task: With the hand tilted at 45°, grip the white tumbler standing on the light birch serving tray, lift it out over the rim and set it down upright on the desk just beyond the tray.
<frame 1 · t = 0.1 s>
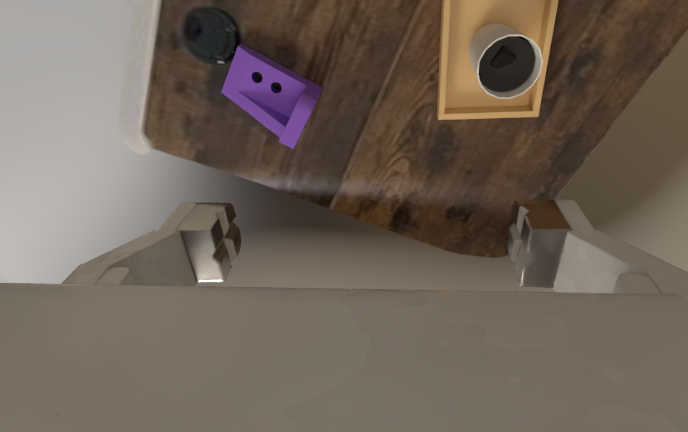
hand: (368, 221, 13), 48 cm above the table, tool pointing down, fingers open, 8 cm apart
tray: (491, 47, 54), on the table
bracket: (273, 88, 60), on the table
white tumbler: (491, 47, 54), resting on tray
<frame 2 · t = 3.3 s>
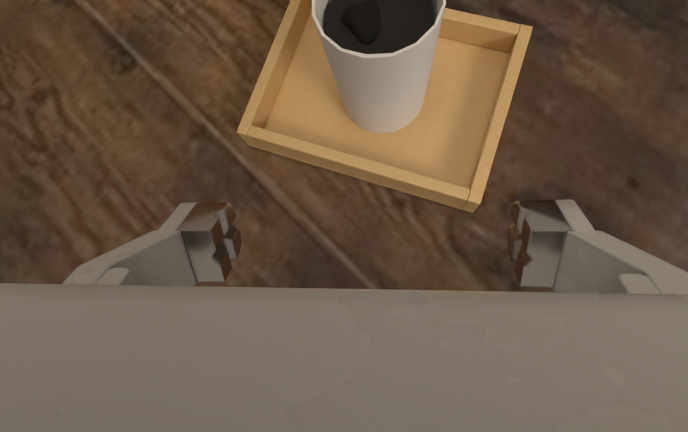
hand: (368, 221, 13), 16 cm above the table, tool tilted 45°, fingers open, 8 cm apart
tray: (383, 97, 31), on the table
white tumbler: (383, 97, 31), resting on tray
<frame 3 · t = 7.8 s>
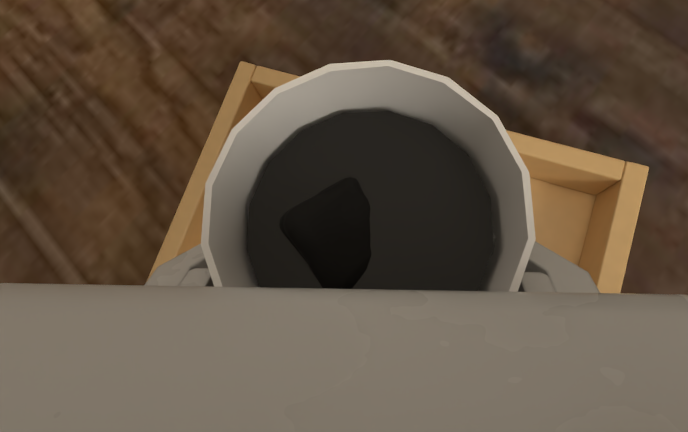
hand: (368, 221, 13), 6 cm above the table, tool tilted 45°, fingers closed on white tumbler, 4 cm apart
tray: (379, 265, 19), on the table
white tumbler: (381, 266, 19), resting on tray, touching gripper
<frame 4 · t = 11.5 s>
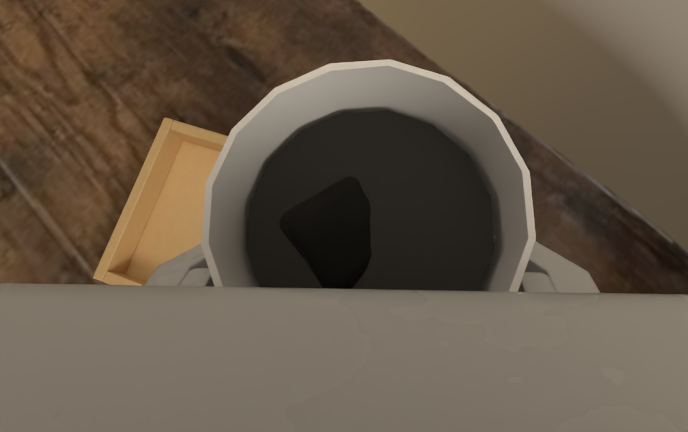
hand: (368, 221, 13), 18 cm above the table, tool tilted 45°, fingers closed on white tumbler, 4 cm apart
tray: (244, 235, 32), on the table
white tumbler: (381, 266, 19), point 12 cm above the table, touching gripper
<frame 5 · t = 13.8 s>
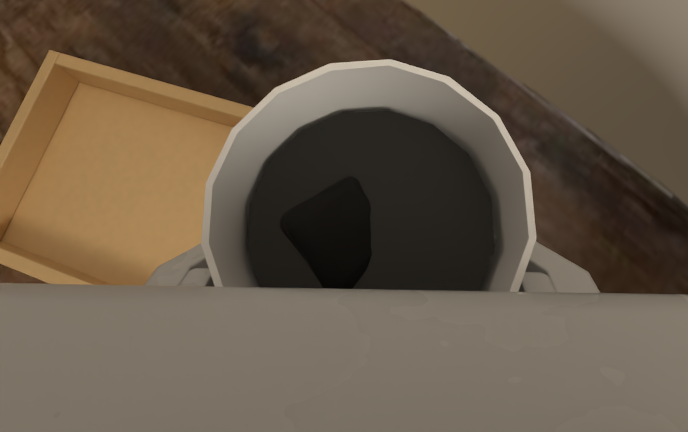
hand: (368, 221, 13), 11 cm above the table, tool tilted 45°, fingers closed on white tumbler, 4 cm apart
tray: (145, 194, 26), on the table
white tumbler: (381, 266, 19), point 5 cm above the table, touching gripper
when the fingers open (6 cm above the table, at t = 15.7 s): white tumbler stays where it is, on the table.
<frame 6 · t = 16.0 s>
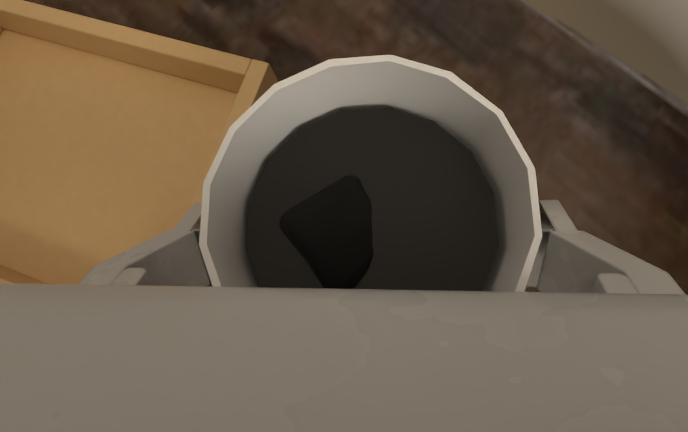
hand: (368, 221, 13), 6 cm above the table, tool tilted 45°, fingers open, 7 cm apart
tray: (80, 165, 21), on the table
white tumbler: (381, 266, 18), on the table
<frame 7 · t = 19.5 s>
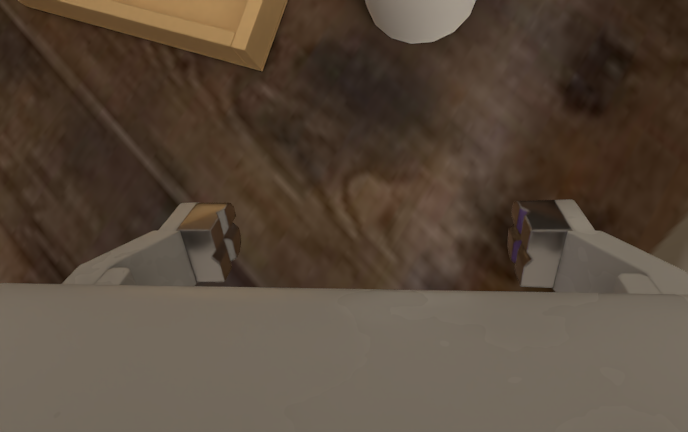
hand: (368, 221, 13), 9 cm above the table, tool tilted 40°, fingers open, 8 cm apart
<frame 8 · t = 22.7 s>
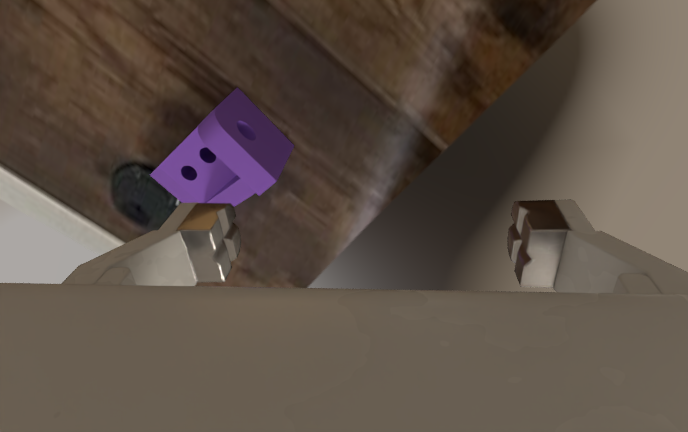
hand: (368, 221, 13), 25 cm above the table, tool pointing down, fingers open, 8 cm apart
bracket: (224, 156, 41), on the table
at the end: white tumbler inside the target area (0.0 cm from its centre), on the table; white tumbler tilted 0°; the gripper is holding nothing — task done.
